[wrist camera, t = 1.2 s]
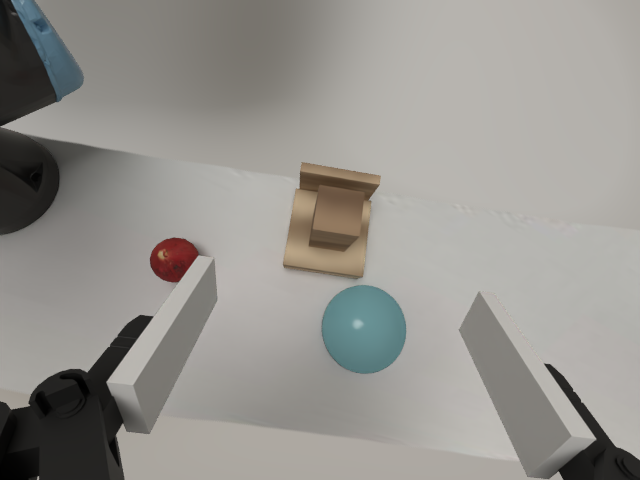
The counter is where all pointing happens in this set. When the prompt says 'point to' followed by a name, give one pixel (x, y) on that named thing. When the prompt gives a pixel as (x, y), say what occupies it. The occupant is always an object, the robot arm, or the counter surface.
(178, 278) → the onion
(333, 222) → the block
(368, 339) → the teal flattened ellipsoid
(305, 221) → the ledge
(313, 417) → the counter surface
